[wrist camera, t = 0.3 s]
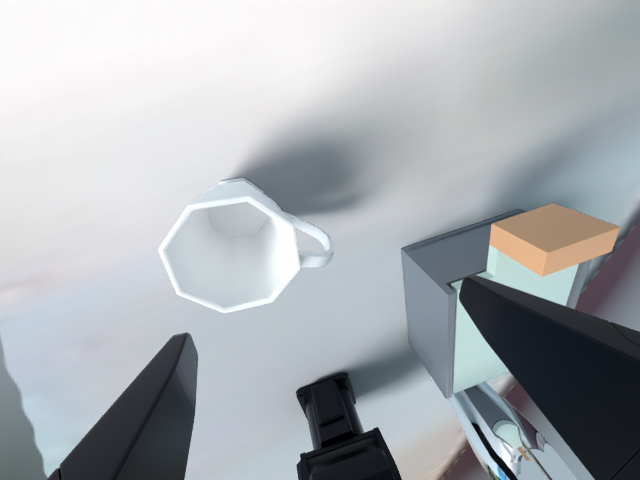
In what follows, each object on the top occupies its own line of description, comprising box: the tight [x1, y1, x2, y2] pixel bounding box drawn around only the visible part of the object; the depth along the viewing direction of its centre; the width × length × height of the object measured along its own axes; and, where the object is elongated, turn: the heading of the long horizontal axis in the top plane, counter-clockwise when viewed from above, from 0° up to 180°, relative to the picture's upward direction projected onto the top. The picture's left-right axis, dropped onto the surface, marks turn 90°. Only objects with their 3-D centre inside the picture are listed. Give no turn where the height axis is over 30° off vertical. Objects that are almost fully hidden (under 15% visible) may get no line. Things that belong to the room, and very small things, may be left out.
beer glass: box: [429, 374, 577, 480], centre depth 32 cm, size 7×7×15 cm
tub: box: [401, 209, 592, 399], centre depth 28 cm, size 14×13×7 cm
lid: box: [451, 203, 621, 394], centre depth 23 cm, size 18×11×4 cm, turn 13°
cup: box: [158, 178, 334, 313], centre depth 18 cm, size 7×10×8 cm
